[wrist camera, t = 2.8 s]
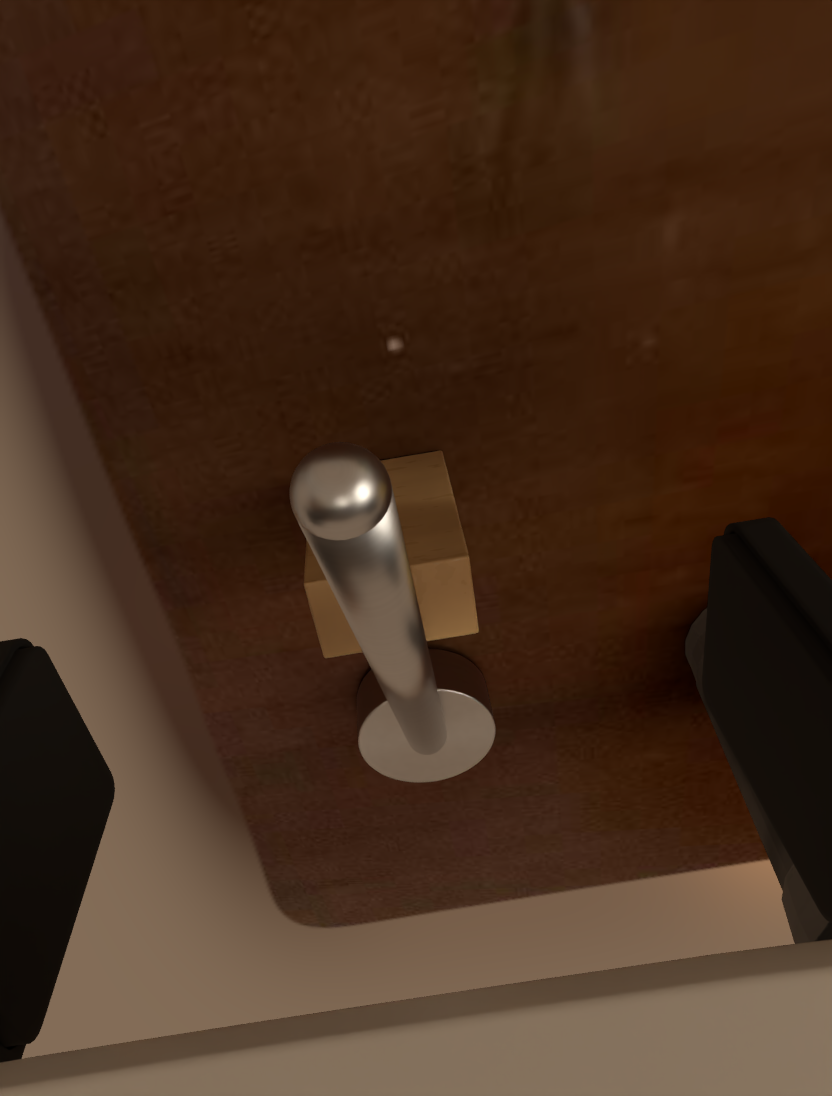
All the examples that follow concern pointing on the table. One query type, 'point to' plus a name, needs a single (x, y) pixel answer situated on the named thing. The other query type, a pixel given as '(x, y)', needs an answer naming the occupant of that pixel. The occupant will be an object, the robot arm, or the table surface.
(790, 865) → the beverage cup
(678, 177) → the table surface
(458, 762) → the ladle
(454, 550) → the shipping carton
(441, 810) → the table surface
